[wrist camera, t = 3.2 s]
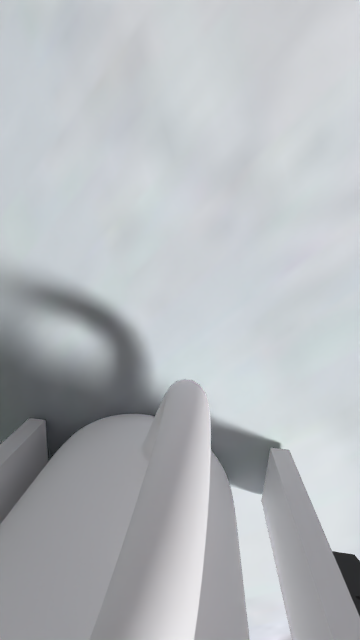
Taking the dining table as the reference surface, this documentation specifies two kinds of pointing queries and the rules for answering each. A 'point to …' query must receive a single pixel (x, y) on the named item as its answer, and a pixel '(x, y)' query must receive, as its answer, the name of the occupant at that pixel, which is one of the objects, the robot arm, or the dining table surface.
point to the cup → (127, 535)
